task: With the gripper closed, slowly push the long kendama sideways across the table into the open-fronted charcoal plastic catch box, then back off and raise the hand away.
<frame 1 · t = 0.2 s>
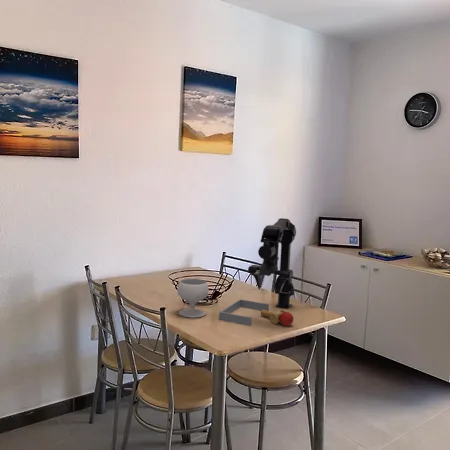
hand: (269, 290, 199), 14 cm above the table, tool pointing down, fingers open, 9 cm apart
kendama: (275, 322, 203), on the table
catch box: (245, 315, 209), on the table
chalice: (192, 314, 208), on the table
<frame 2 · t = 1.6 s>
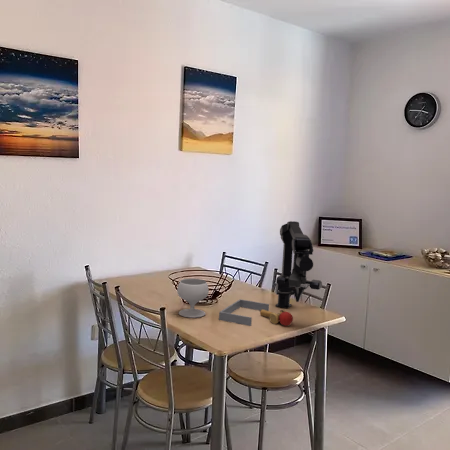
hand: (297, 301, 198), 10 cm above the table, tool pointing down, fingers closed
nothing on the table moved.
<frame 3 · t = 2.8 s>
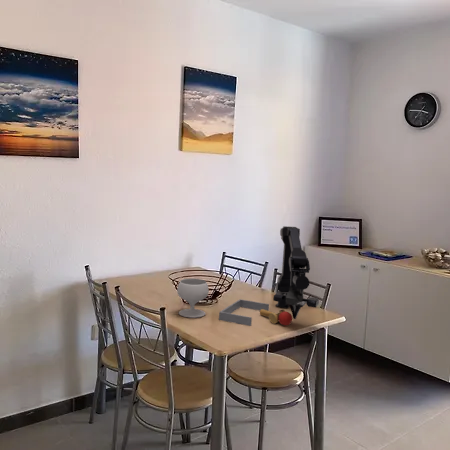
hand: (294, 318, 200), 3 cm above the table, tool pointing down, fingers closed
kendama: (274, 321, 204), on the table, touching gripper
everything else where it was.
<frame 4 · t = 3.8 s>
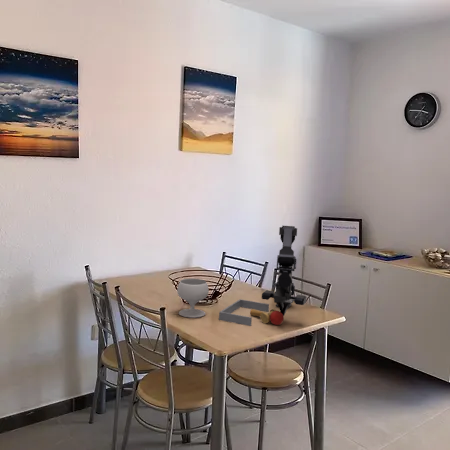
hand: (282, 316, 202), 3 cm above the table, tool pointing down, fingers closed
kendama: (265, 321, 204), on the table, touching gripper
everything else where it was.
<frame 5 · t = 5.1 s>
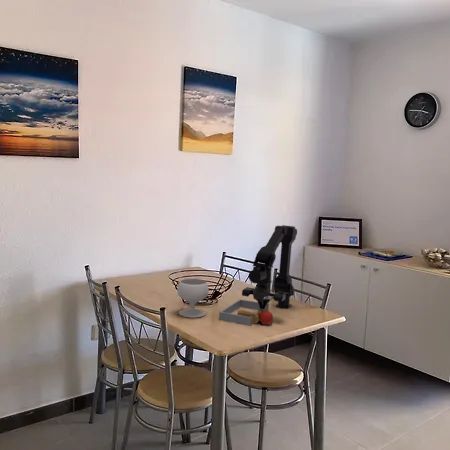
hand: (262, 313, 206), 3 cm above the table, tool pointing down, fingers closed
kendama: (254, 321, 203), on the table
everything else where it was.
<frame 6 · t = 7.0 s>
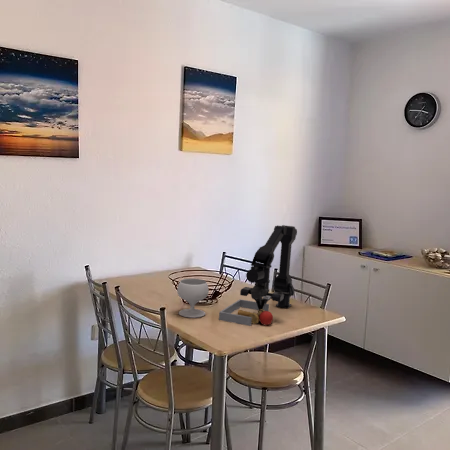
hand: (260, 312, 206), 3 cm above the table, tool pointing down, fingers closed
nothing on the table moved.
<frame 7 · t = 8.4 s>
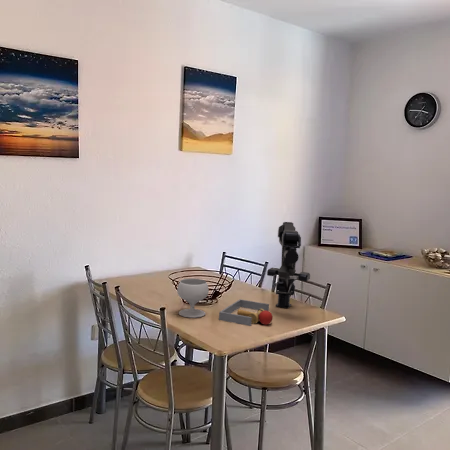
hand: (287, 292, 210), 11 cm above the table, tool pointing down, fingers closed
nothing on the table moved.
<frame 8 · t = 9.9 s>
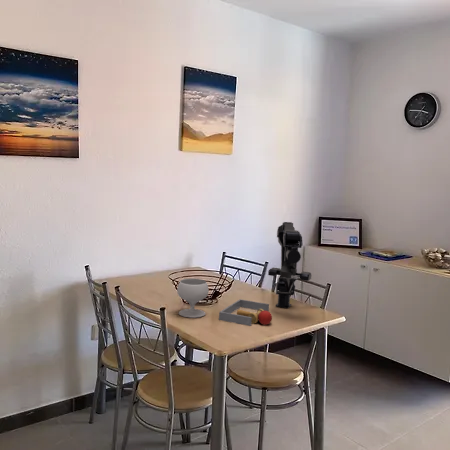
hand: (288, 292, 210), 11 cm above the table, tool pointing down, fingers closed
nothing on the table moved.
at the end: kendama inside the target area on the catch box (6.9 cm from its centre), point -0.5 cm above the catch box's base; kendama moved 10.0 cm from its start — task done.
